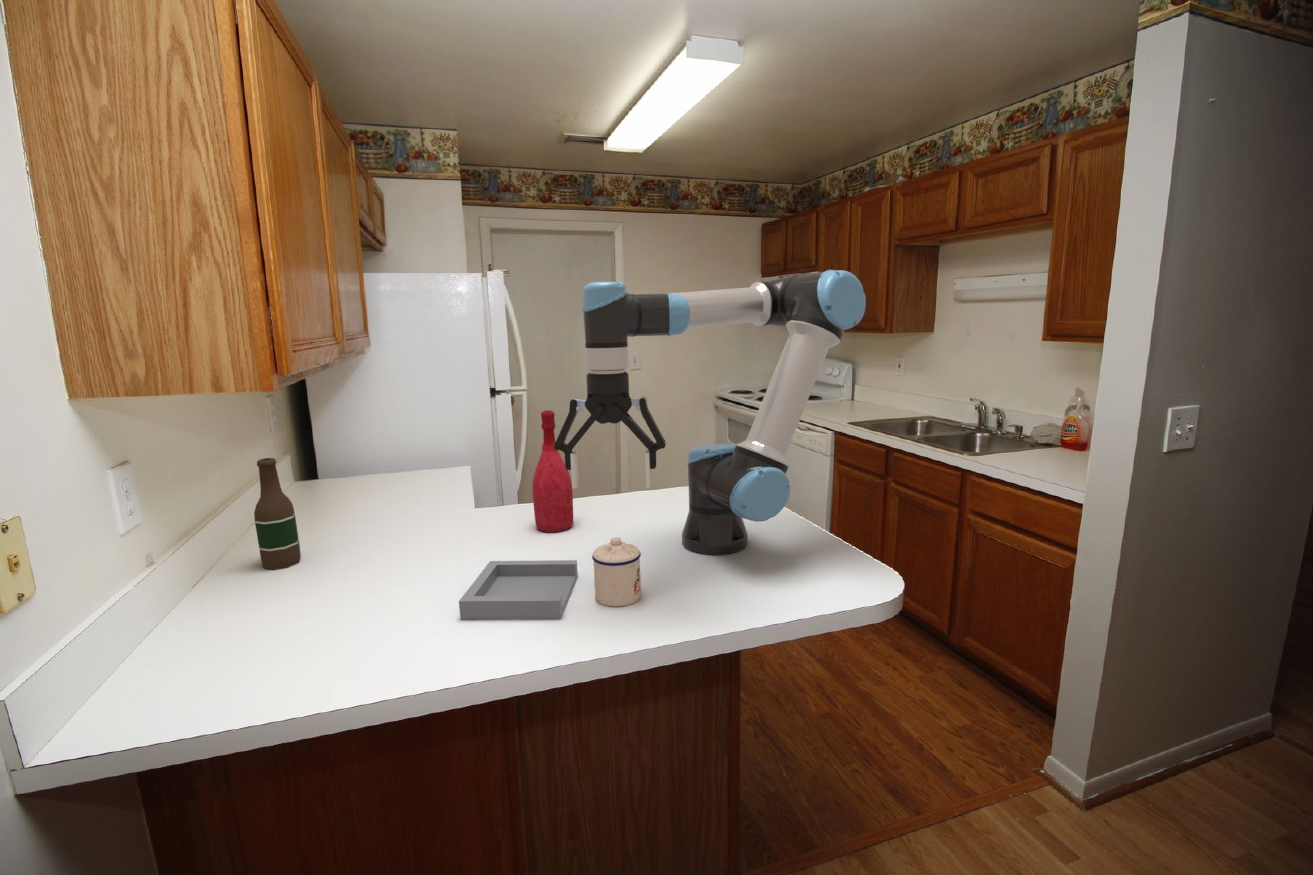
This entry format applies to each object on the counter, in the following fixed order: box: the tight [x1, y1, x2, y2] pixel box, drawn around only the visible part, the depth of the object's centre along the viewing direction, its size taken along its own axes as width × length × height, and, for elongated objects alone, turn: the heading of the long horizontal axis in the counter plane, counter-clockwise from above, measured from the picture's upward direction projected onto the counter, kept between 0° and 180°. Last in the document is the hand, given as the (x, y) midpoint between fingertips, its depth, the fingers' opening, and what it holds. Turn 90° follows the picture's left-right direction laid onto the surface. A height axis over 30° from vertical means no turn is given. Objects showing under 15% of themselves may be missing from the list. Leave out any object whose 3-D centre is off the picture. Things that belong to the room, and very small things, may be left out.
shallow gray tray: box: [458, 559, 579, 620], centre depth 117 cm, size 18×18×4 cm
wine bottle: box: [532, 410, 574, 533], centre depth 153 cm, size 10×10×30 cm
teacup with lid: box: [591, 536, 642, 608], centre depth 116 cm, size 12×9×12 cm
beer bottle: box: [253, 457, 302, 571], centre depth 134 cm, size 8×8×24 cm
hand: (611, 486), depth 113 cm, fingers open, 13 cm apart
